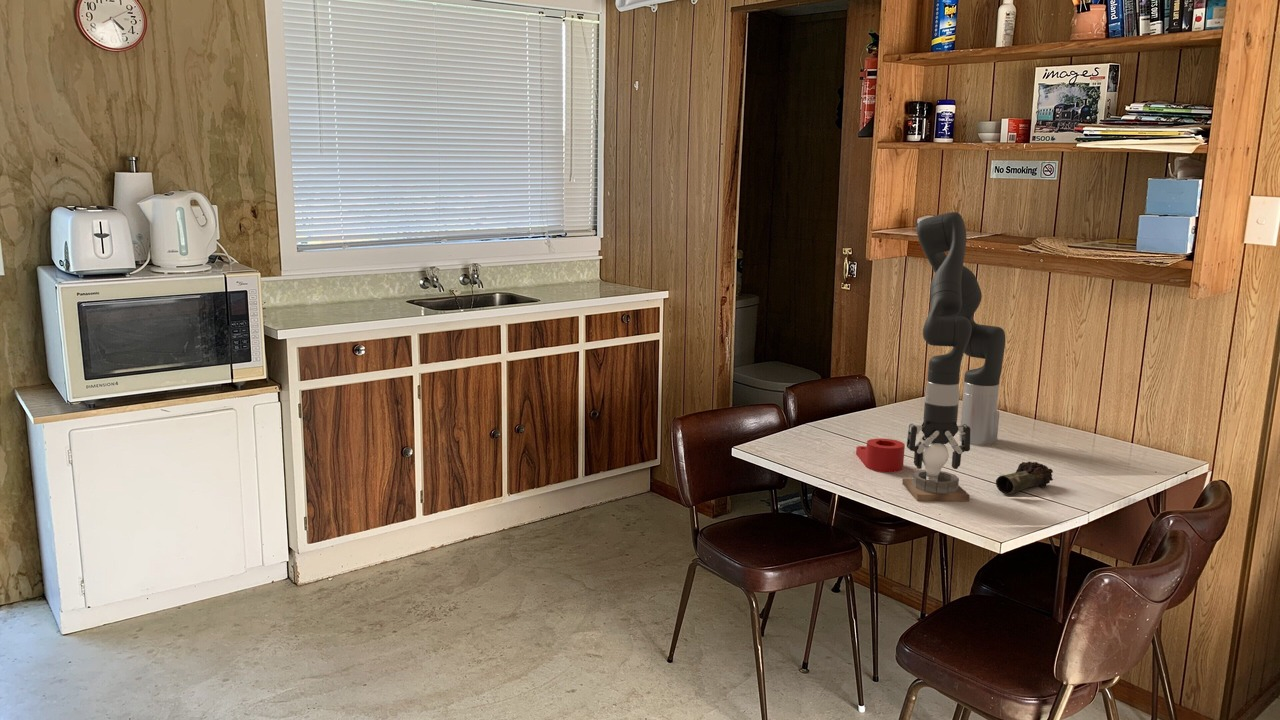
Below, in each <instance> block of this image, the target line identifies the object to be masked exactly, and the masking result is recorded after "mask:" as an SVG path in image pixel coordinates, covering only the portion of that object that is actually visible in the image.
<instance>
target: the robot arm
mask: <svg viewBox="0 0 1280 720" xmlns="http://www.w3.org/2000/svg"><path fill="white" fill-rule="evenodd" d="M916 235H917V238H918V241H919V244H920V246H921V249H922V251H923V253H924V255H925V257H926V259H927V260H928V262H929V264H930V267H931V268H932V270H933V272H934V275H933V277H932V279H931V282H930V287H929V288H930V292H929V293H930V303H929V304H930V306H929V311H928V315H927V317H926V319H925V321H924V324H923V329H922V337H923V340H924V342H926V343H927V344H928V345H930V346H934V347H952V349H951V350H950V351H949V352H948V353H944V354H938V355H934V356H932V357H930V358H929V360H928V367H927V369H928V370H927V381H926V387H925V393H924V409H923V422H922V424H921V425H917V424H914V423H910V424H908V432H907V440H906V448H907V449H909V450H910V452H911V451H912V452H914V453H913V465H914V466H915V467H916V468H917V469H918V470H919V469H922V468H923V461H922V456H923V454H922V451H923V450H924V449H925V448H926V447H928V446H929V445H930V443H933V444H934V443H941V444H944V445H947V444H949V445H950V446H951V448H952V449H953V451H952V457H951V468H952V469H954V470H957V469H958V468H959V467H960V465H961V462H962V461H961V460H962V454H963V453H964V452H965V453H966V452H969V451H970V450H971V445H972V446H990V445H991V446H992V445H997V444H998V434H999V433H998V432H999V422H1000V421H999V420H1000V411H999V410H998V404H999V403H998V400H999V390H1000V389H999V388H1000V381H1001V380H1000V379H1001V375H1002V370H1003V362H1004V355H1005V347H1006V333H1005V329H1003V328H1002V327H1000V326H995V325H988V324H987V325H986V324H978V323H976V322H975V320H974V314H975V313H976V312H977V310H978V308H979V307H980V305H981V302H982V296H983V294H982V290H981V287H980V285H979V282H978V278H977V276H976V275H975V274H974V273H973V271H972V270H970V268H968V267H967V266H965V265H964V261H965V255H966V246H967V228H966V225H965V221H964V218H963V216H962V215H961V214H960V213H959V212H957V211H950V212H945V213H942V214H938V215H934V216H929V217H926V218H923V219H920V221H919V222H918V223H917V225H916ZM945 252H948V253H947V254H946V253H945ZM964 355H966V356H968V357H971V358H977V359H982V360H984V363H983V364H984V365H982V366H981V367H978V368H971V369H969V370H966V371H965V373H964V377H963V378H964V379H963V391H962V404H961V413H960V414H961V417H960V425H958V416H959V403H960V374H961V373H960V372H961V366H962V362H963V361H962V360H963V357H964ZM920 432H922V433H923V435H922V436H921V437H920V438H919V440H918V442H917V443H916V441H917V435H919V434H920ZM958 432H959V441H960V442H961V445H959V444H958V442H957V441H956V439H955V438H954V437H955V436H956V434H957V433H958Z"/></svg>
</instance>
